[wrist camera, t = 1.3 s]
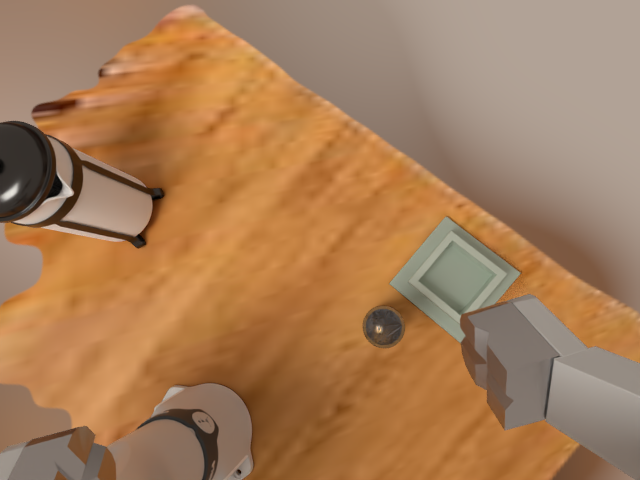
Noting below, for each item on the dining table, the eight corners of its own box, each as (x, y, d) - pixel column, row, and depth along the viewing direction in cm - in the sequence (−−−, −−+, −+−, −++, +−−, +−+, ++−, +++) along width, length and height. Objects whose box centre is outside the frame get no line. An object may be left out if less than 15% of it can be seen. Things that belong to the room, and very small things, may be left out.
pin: (386, 343, 64) (386, 357, 50) (360, 321, 65) (354, 328, 51) (407, 318, 64) (413, 324, 50) (381, 296, 65) (380, 297, 51)
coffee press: (152, 154, 75) (2, 63, 45) (177, 233, 72) (34, 190, 43) (71, 190, 76) (-124, 125, 47) (93, 268, 74) (-101, 251, 44)
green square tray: (460, 343, 62) (465, 346, 59) (389, 283, 65) (389, 283, 61) (519, 273, 62) (527, 272, 59) (445, 216, 65) (449, 212, 61)
